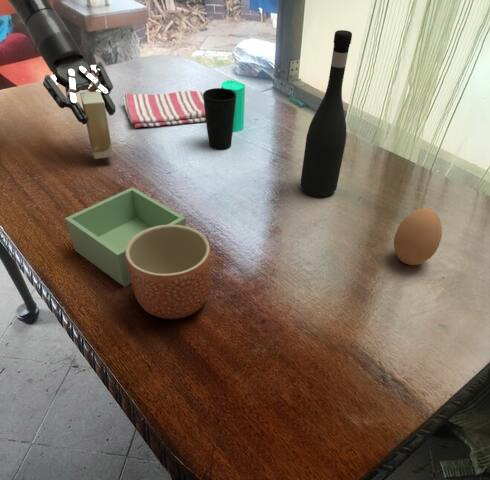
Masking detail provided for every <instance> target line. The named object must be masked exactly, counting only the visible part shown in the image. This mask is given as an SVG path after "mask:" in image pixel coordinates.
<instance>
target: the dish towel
mask: <svg viewBox="0 0 490 480" xmlns="http://www.w3.org/2000/svg"><path fill="white" fill-rule="evenodd" d="M203 93H204V92H202V91H200V90H181V91H175V92H169V93H155V94H148V93H138V94H137V93H134V94H131V93H128V92H125V94H124V95H122V98H123V103H124V104H123V105H124V108H125V112H126V114H127V116H128V119H129V121H130V123H131V124H133V125H134V127H135V129H139V128H141V127H144V128H145V127H146V128H148V127H150V128H151V127H152V128H153V127H161V126H167V125H168V126H169V125H170V126H171V125H181V124H190V123H191V124H192V123H201V122H206V116H205V107H204V99H203Z"/></svg>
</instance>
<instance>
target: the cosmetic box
mask: <svg viewBox="0 0 490 480" xmlns="http://www.w3.org/2000/svg"><path fill="white" fill-rule="evenodd" d="M79 96H80V101H81V107H82V109H83V111H84V112H85V114H86V116H87V117H88V122H87V123H86V124H85V125H86V129H87V134H88V139H89V144H90V149H91V152H92V156H93V158H94V160H99V159H105V158H113V157H114V151H113V146H112V145H113V144H112V139H111V134H110V128H109V121H108V116H107V110H106V108H105V103H104V100H103V98H102V95H101V93H100V91H96V92H90V91H85V92H80V93H79Z"/></svg>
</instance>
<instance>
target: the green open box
mask: <svg viewBox="0 0 490 480" xmlns="http://www.w3.org/2000/svg"><path fill="white" fill-rule="evenodd" d="M64 221H65V224H66V227H67V230H68V234H69V237H70V240H71V244H72V247H73V250H74V251H75V252H76V253H77V254H79V255H80V256H81V257H83V258H85V259H86V260H87V261H89V263H91V264H92V265H94V266H95V267H97V269H99V270H100V271H102V272H103V273H105V274H106V275H107V276H109V277H110V278H112V279H113V280H114V281H116V282H117V283H118V284H120V286H122V287H124V288H126V287H128V286H129V285H132V282H131V278H130V275H129V271H128V267H127V263H126V256H125V251H126V247H127V244H128V243H129V241H130V240H131V239H132V238H133V237H134V236H135V235H136V234H138V233H139V232H141V231H143V230H145V229H148V228H151V227H155V226H159V225H182V226H186V227H187V219H186V217H185V216H184V215H182V214H180V213H178V212H176V211H175V210H173V209H171V208H169V207H168V206H166V205H164V204H162V202H159V201H158V200H156V199H155V198H152V197H150V196H149V195H147V194H145V193H144V192H142V191H140V190H139V189H137V188H135V187H133V186H132V187H129V188H127V189H125V190H123V191H121V192H118V193H117V194H114V195H112V196H110V197H108V198H105V199H104V200H102V201H100V202H96V203H94V204H93V205H90V206H89V207H86V208H84V209H82V210H80V211H77V212H76V213H73V214H71V215H69V216H67V217H65V218H64Z"/></svg>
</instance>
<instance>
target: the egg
mask: <svg viewBox="0 0 490 480" xmlns="http://www.w3.org/2000/svg"><path fill="white" fill-rule="evenodd" d="M395 231H396V232H395V234H394V237H393V248H394V252H395V254H396V256H397V258H398V259H399V260H400V261H401V262H402V263H403V264H405V265H409V266H418V265H420V264H423V263H425V262H426V261H428V260H429V259H431V258H432V257H433V256H434V255H435V253H436V252H437V250H438V248H439V247H440V244H441V241H442V237H443V234H442V233H443V228H442V222H441V219H440V217H439V215H438V214H437V212H436V211H435V210H433V209H431V208H428V207H421V208H418V209H414V210H413V211H411V212H410V213H409V214H407V216H406V217H405V218H404V219H403V220H402V221H401V222H400V224H399V226H398V227H397V229H396V230H395Z"/></svg>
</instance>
